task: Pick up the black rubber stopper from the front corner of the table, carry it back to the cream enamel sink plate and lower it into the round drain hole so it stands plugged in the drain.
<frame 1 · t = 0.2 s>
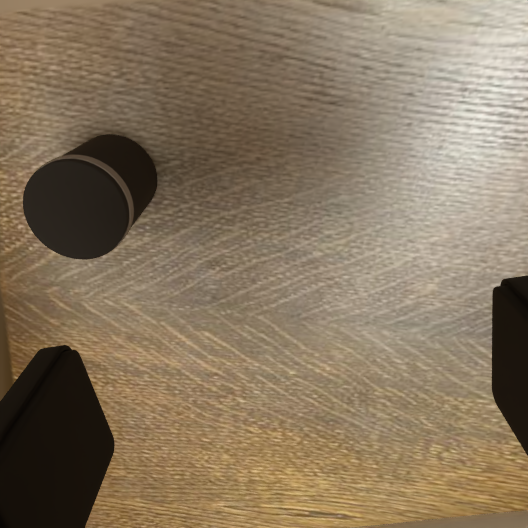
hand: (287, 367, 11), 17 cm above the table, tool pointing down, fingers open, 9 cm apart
stopper: (116, 176, 26), on the table
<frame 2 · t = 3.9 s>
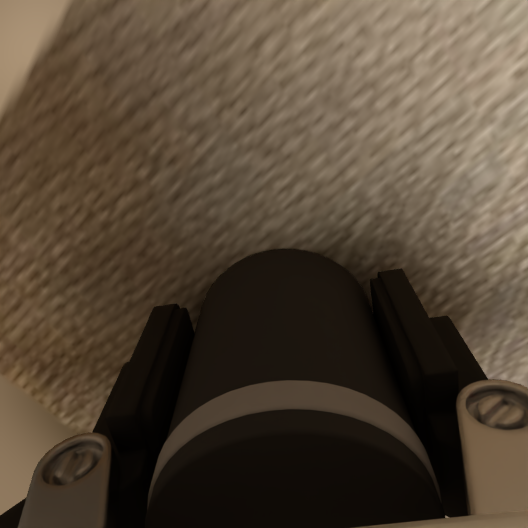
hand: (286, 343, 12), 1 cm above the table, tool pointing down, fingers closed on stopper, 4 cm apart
stopper: (285, 327, 13), on the table, touching gripper
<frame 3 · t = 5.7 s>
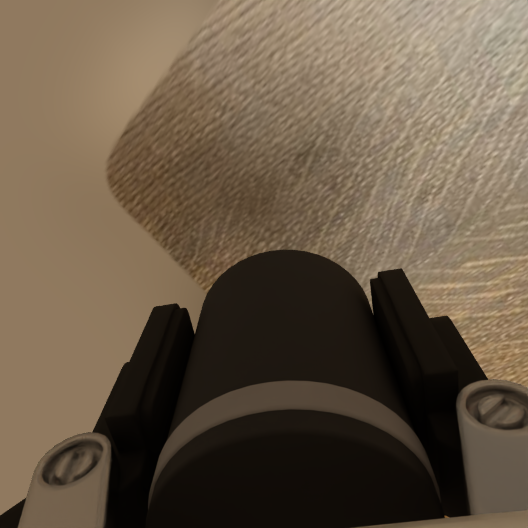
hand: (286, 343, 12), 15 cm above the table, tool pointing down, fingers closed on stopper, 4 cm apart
stopper: (285, 327, 13), point 14 cm above the table, touching gripper
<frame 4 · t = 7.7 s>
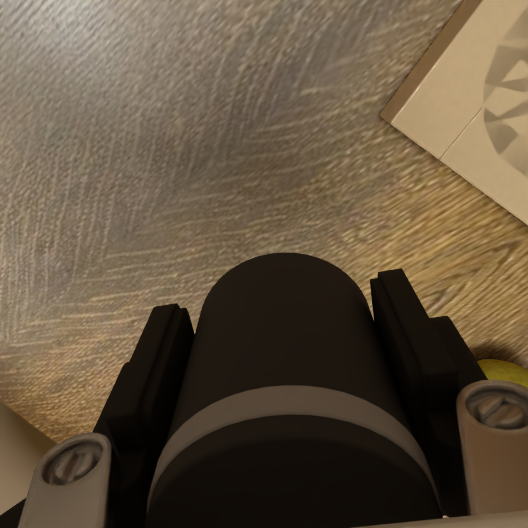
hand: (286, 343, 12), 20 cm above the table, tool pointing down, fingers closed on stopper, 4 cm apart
fruit: (481, 370, 36), on the table
stopper: (284, 330, 13), point 19 cm above the table, touching gripper
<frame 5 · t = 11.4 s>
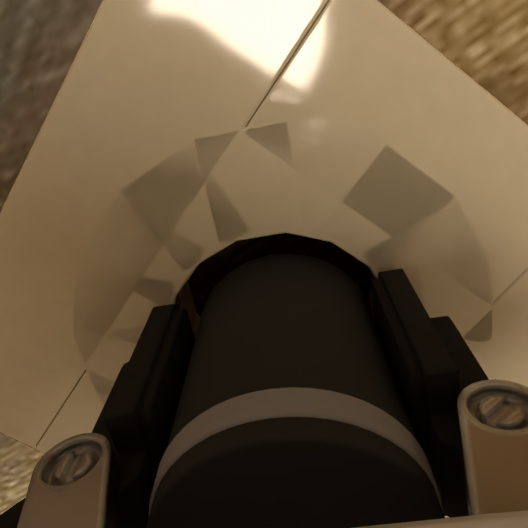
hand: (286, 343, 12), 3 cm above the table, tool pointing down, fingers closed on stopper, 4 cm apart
sink floor: (279, 282, 15), on the table
stopper: (286, 331, 13), point 2 cm above the table, touching gripper
when the fingers open (3 cm above the table, at t = 12.0 s): stopper drops 2 cm, resting in sink floor.
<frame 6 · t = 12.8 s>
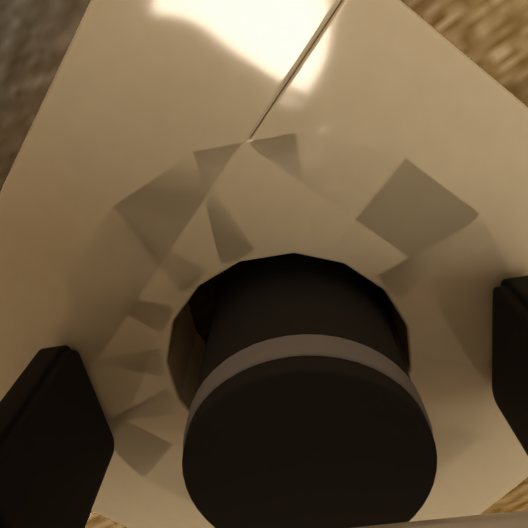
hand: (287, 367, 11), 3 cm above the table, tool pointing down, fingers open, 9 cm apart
sink floor: (285, 301, 14), on the table
stopper: (295, 304, 14), resting in sink floor
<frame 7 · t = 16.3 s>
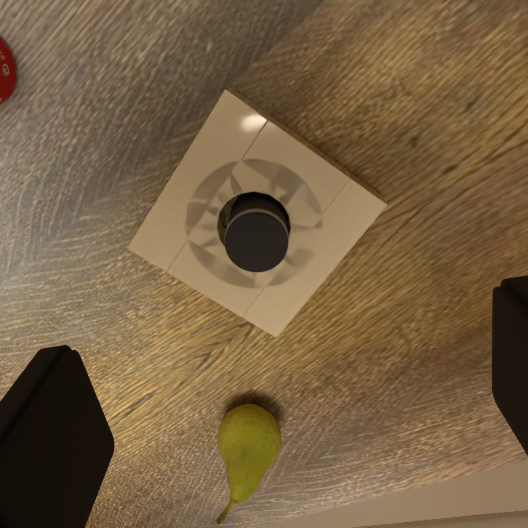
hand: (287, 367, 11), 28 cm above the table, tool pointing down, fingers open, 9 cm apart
sink floor: (255, 214, 39), on the table
fruit: (250, 411, 48), on the table
stopper: (258, 215, 39), resting in sink floor
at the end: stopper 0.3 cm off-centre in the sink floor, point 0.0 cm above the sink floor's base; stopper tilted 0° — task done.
